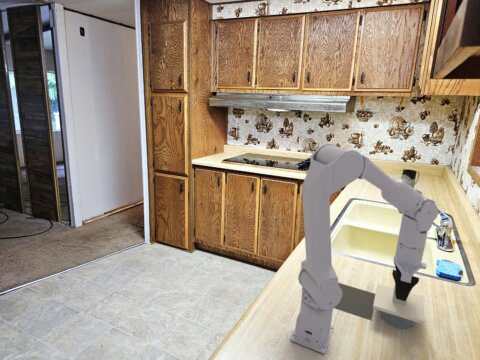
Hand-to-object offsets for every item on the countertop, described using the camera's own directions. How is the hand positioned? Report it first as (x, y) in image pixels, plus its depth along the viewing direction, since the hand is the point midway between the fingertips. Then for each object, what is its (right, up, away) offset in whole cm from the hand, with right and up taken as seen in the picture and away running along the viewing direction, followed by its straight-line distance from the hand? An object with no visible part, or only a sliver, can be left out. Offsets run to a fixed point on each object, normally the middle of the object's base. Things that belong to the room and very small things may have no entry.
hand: (401, 294), depth 79 cm
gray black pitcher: (+66, +20, +120) cm, 138 cm away
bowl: (0, -7, +2) cm, 7 cm away
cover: (0, -3, +1) cm, 3 cm away
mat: (-10, -5, +9) cm, 14 cm away
